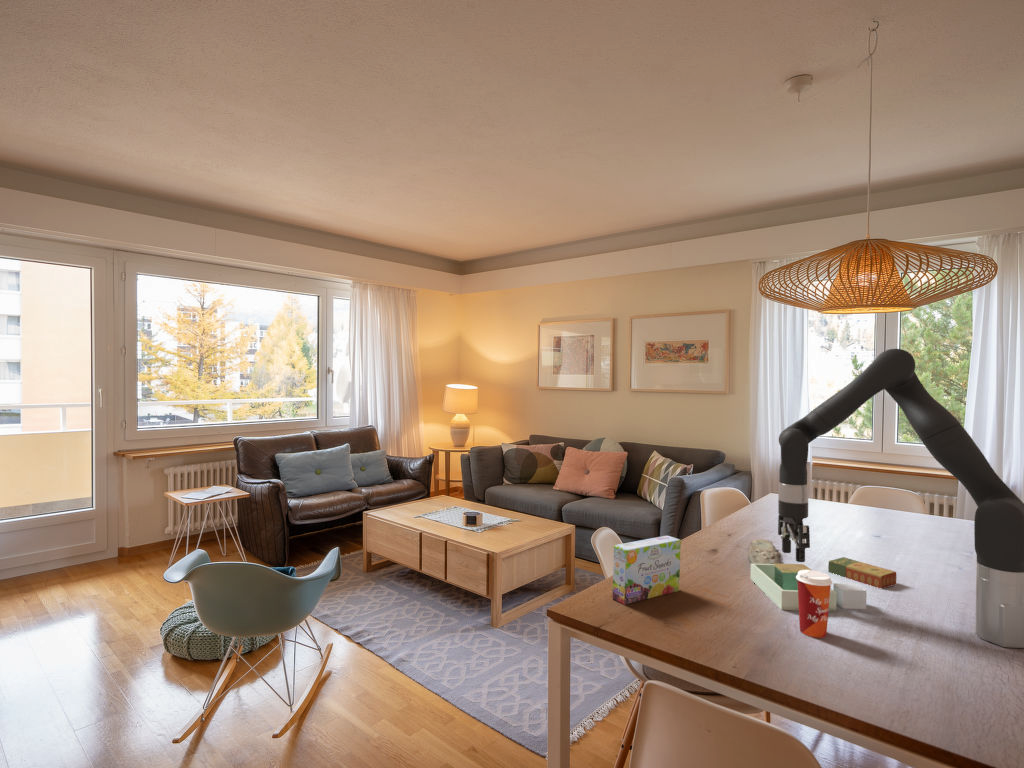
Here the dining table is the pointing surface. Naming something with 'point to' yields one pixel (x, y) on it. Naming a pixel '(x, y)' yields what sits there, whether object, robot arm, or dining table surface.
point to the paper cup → (813, 602)
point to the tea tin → (788, 575)
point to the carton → (862, 572)
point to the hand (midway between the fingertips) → (793, 557)
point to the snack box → (646, 569)
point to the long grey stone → (763, 552)
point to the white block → (850, 596)
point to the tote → (782, 598)
